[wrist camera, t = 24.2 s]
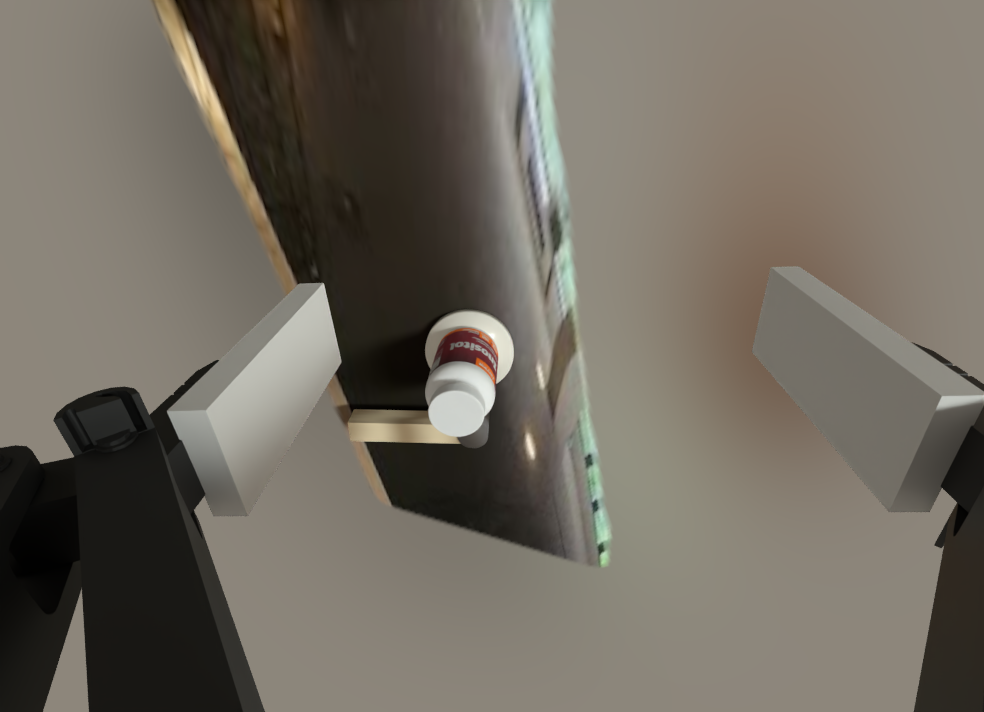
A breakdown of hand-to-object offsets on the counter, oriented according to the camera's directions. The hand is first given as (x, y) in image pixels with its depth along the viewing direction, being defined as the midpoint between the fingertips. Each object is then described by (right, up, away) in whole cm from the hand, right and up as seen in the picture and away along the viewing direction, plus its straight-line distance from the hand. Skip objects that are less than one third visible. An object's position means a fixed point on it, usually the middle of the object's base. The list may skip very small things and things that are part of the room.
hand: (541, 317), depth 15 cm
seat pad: (-4, 0, +37) cm, 37 cm away
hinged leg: (-9, -7, +41) cm, 42 cm away
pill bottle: (-4, -1, +36) cm, 36 cm away
